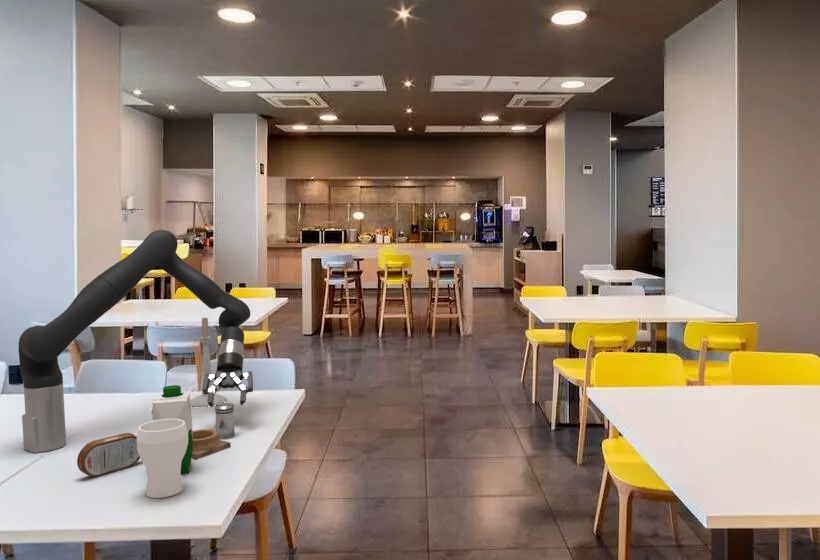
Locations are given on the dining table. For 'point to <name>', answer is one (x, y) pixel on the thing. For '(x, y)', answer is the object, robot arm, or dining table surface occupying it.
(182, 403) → the milk carton
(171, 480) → the cup
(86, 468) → the tin
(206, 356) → the candlestick
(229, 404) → the salt shaker
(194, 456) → the ring board
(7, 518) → the dining table surface
